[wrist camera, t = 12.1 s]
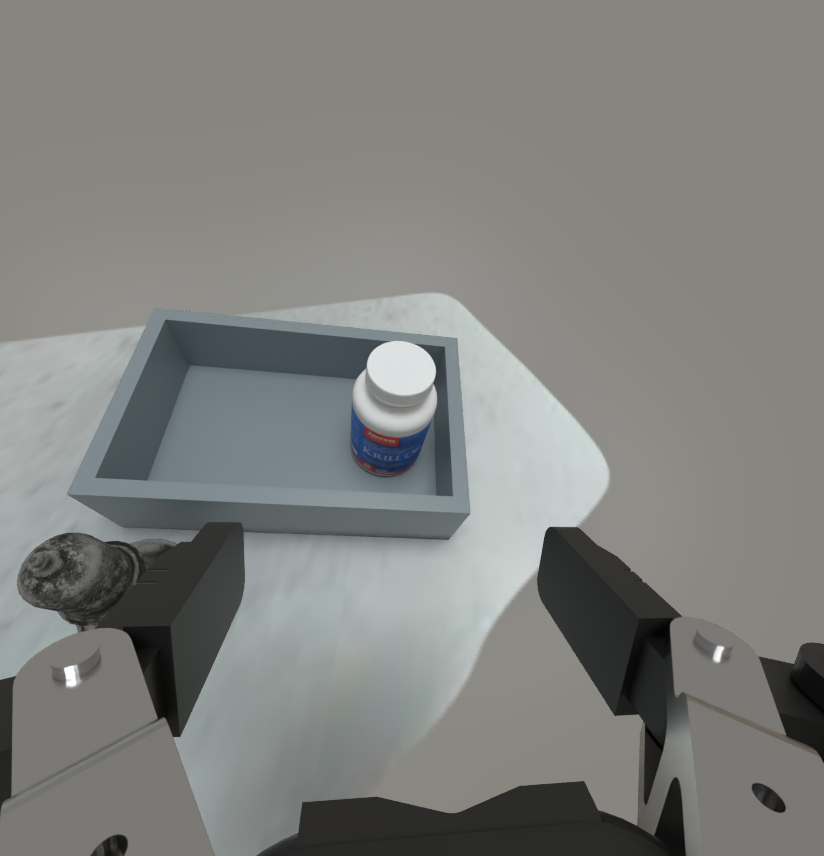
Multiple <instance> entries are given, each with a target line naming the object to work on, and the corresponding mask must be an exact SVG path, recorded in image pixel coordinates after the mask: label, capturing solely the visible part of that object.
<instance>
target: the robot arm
mask: <svg viewBox="0 0 824 856" xmlns="http://www.w3.org/2000/svg"><path fill="white" fill-rule="evenodd" d="M244 583H245V568H244V538H243V527H242V524H241V523H240V522H207V523H206V524H205V525H204V527H203V528H202V529H201V530H200V531H199V533H198V534H197V535H196V536H195V538H194V539H193V540H192V541H191V542H181V543H179V544H177V545H176V546H174V547H172V548H171V549H169V550H167V551H166V552H164V553H162V554H161V555H160V556H159V557H158V558H157V559H156V560H155V562H154V563H153V564H152V565H151V566H150V567H149V568H148V571H147V572H145V573H144V574H143V575H142V576H141V577H140V578H139V579H138V581H137V583H136V585H133V586H132V587H131V588H130V589H129V591H128V592H127V593H126V594H125V595H124V596H123V597H122V598H121V600H120V601H119V602H118V603H117V604H116V605H115V606H114V607H113V608H112V610H111V611H110V612H109V613H108V614H107V615H106V616H105V617H104V619H103V620H102V621H101V622H100V623H99V624H98V625H97V626H96V627H95V629H92V630H87V631H83V632H80V633H77V634H74V635H71V636H68V637H66V638H63V639H61V640H59V641H57V642H55V643H53V644H51V645H50V646H48V647H46V648H45V649H43V650H42V651H40V652H39V653H37V654H36V655H35V656H34V657H32V658H31V659H30V660H29V661H28V662H27V663H26V664H25V665H24V666H23V667H22V668H21V670H20V671H19V672H18V674H17V676H14V677H11V678H7V679H3V680H0V856H215V855H214V852H213V849H212V846H211V844H210V841H209V838H208V835H207V832H206V830H205V827H204V824H203V821H202V818H201V815H200V813H199V810H198V807H197V804H196V801H195V798H194V796H193V793H192V790H191V787H190V784H189V781H188V779H187V776H186V773H185V770H184V767H183V764H182V762H181V759H180V756H179V753H178V750H177V747H176V745H175V742H174V739H173V737H180V736H181V734H182V732H183V730H184V727H185V725H186V723H187V721H188V718H189V716H190V714H191V712H192V710H193V707H194V705H195V703H196V701H197V699H198V696H199V694H200V692H201V690H202V687H203V685H204V683H205V681H206V679H207V676H208V674H209V672H210V670H211V668H212V665H213V663H214V661H215V659H216V656H217V654H218V652H219V650H220V648H221V645H222V643H223V641H224V639H225V637H226V634H227V632H228V630H229V628H230V625H231V623H232V621H233V619H234V617H235V614H236V612H237V610H238V608H239V605H240V603H241V600H242V596H243V591H244ZM537 584H538V591H539V595H540V598H541V600H542V602H543V604H544V605H545V607H546V609H547V610H548V612H549V613H550V615H551V617H552V618H553V620H554V621H555V623H556V624H557V626H558V628H559V629H560V631H561V632H562V634H563V635H564V637H565V638H566V640H567V642H568V643H569V645H570V646H571V648H572V650H573V651H574V653H575V654H576V656H577V657H578V659H579V660H580V662H581V664H582V665H583V667H584V668H585V670H586V672H587V673H588V675H589V676H590V678H591V679H592V681H593V682H594V684H595V686H596V687H597V689H598V690H599V692H600V693H601V695H602V697H603V698H604V699H605V701H606V703H607V704H608V706H609V708H610V709H611V711H612V712H613V714H614V715H615V716H617V715H636V714H639V715H640V717H641V718H642V720H643V724H642V728H641V732H640V745H639V780H638V818H637V826H636V825H634V824H632V823H630V822H628V821H626V820H624V819H622V818H619V817H616V816H614V815H611V814H608V813H605V812H602V811H598V809H597V808H596V805H595V803H594V801H593V799H592V797H591V795H590V793H589V791H588V788H587V786H586V784H585V782H584V781H580V782H567V783H554V784H541V785H528V786H519V787H517V788H514V789H512V790H509V791H508V792H505V793H503V794H500V795H498V796H496V797H494V798H491V799H489V800H487V801H484V802H482V803H480V804H477V805H475V806H473V807H471V808H468V809H466V810H464V811H462V812H458V813H444V812H440V811H436V810H432V809H427V808H423V807H418V806H414V805H410V804H406V803H401V802H397V801H392V800H388V799H384V798H379V797H368V798H355V799H341V800H328V801H315V802H303V803H302V811H301V818H300V826H299V833H297V834H295V835H293V836H290V837H288V838H286V839H284V840H282V841H280V842H278V843H276V844H275V845H273V846H271V847H269V848H268V849H266V850H264V851H263V852H261V853H260V854H258V855H257V856H824V644H820V643H806V644H803V645H802V646H801V647H800V650H799V652H798V655H797V658H796V660H795V663H794V664H791V663H786V662H781V661H777V660H772V659H768V658H763V657H758V656H757V654H756V653H755V651H754V650H753V649H752V648H751V647H750V646H749V645H748V644H747V643H746V642H744V641H743V640H742V639H740V638H739V637H738V636H736V635H735V634H733V633H731V632H730V631H728V630H726V629H724V628H722V627H720V626H718V625H716V624H713V623H711V622H708V621H705V620H702V619H697V618H692V617H682V616H681V615H680V614H679V613H678V612H677V611H676V610H675V609H674V608H672V607H671V606H670V605H669V604H668V603H667V602H666V601H665V600H664V599H663V598H662V597H660V596H659V595H658V594H657V593H656V592H655V591H654V590H653V589H652V588H651V587H650V586H649V585H647V584H646V583H643V582H642V579H641V578H640V577H639V576H638V575H636V574H635V573H634V572H631V569H630V568H629V567H628V566H627V565H626V564H625V563H624V562H622V561H621V560H620V559H619V558H618V557H617V556H615V555H614V554H612V553H610V552H608V551H607V550H605V549H603V548H601V547H600V546H598V545H596V544H595V543H594V542H593V541H592V540H591V539H590V538H589V537H588V536H587V535H586V534H585V533H584V532H583V531H582V530H581V529H579V528H578V527H549V528H548V529H547V531H546V533H545V537H544V542H543V548H542V554H541V560H540V565H539V571H538V578H537Z"/></svg>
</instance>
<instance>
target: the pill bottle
mask: <svg viewBox="0 0 824 856" xmlns="http://www.w3.org/2000/svg"><path fill="white" fill-rule="evenodd" d="M435 376H436V367H435V364H434V362H433V359H432V358H431V356H430V355H429V354H428V353H427V352H426V351H425V350H424V349H422V348H421V347H419V346H417V345H415V344H412V343H409V342H404V341H391V342H387V343H384V344H382V345H380V346H378V347H377V348H375V349H374V350H373V351H372V353H371V354H370V356H369V358H368V361H367V367H366V369H365V370H364V371H363V372H362V373H361V374H360V375H359V377H358V378H357V380H356V382H355V384H354V387H353V394H352V410H351V436H350V444H351V451H352V454H353V456H354V458H355V460H356V461H357V463H358V464H359V465H360V466H361V467H362V468H364V469H365V470H366V471H368V472H370V473H373V474H376V475H380V476H394V475H398V474H401V473H403V472H405V471H406V470H408V469H409V468H410V467H411V466H412V465H413V464H414V463H415V461H416V460H417V458H418V456H419V453H420V450H421V448H422V445H423V442H424V440H425V437H426V435H427V432H428V429H429V427H430V424H431V422H432V419H433V416H434V413H435V410H436V407H437V393H436V389H435V386H434V384H433V383H434V380H435Z"/></svg>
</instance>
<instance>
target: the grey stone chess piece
mask: <svg viewBox="0 0 824 856" xmlns="http://www.w3.org/2000/svg"><path fill="white" fill-rule="evenodd" d="M176 545H177V544H176V543H174V542H171V541H167V540H162V539H148V540H142V541H138V542H134V543H131V544H128V543H124V542H120V541H110V542H103V541H101V540H99V539H97V538H95V537H93V536H91V535H87V534H82V533H65V534H61V535H58V536H55V537H53V538H51V539H49V540H46V541H45V542H43V543H42V544H41V545H39V546H38V547H36V548H35V549H34V550H33V551H32V552H31V553H30V554H29V555H28V556H27V558H26V559H25V561H24V562H23V564H22V566H21V569H20V571H19V574H18V579H17V587H18V591H19V594H20V595H21V597H22V598H23V599H24V600H25V601H26V602H28V603H30V604H31V605H33V606H34V607H38V608H43V609H48V610H54V611H57V612H58V613H59V615H60V616H61V617H62V618H63V619H64V620H66V621H67V622H69V623H71V624H75V625H76V627H77V630H78V633H80V632H83V631H87V630H92V629H95V627H96V626H97V625H98V624H99V623H100V622H101V621H102V620H103V619H104V617H105V616H106V615H107V614H108V613H109V612H110V611H111V610H112V608H113V607H114V606H115V605H116V604H117V603H118V602H119V601H120V600H121V598H122V597H123V596H124V595H125V594H126V593H127V592H128V591H129V589H130V588H131V587H132V586H133V585H136V583H137V581H138V579H139V578H140V577H141V576H142V575H143V574H144V573H145V572H147V571H148V568H149V567H150V566H151V565H152V564H153V563H154V562H155V560H156V559H157V558H158V557H159V556H160V555H161V554H162V553H164V552H166V551H167V550H169V549H171V548H172V547H174V546H176Z"/></svg>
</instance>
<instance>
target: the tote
mask: <svg viewBox="0 0 824 856" xmlns="http://www.w3.org/2000/svg"><path fill="white" fill-rule="evenodd" d="M391 341H404V342H409V343H412V344H415V345H417V346H419V347H421V348H422V349H424V350H425V351H426V352H427V353H428V354H429V355H430V356H431V358H432V359H433V362H434V364H435V367H436V376H435V380H434V383H433V384H434V386H435V389H436V393H437V407H436V410H435V413H434V416H433V419H432V422H431V424H430V427H429V429H428V432H427V435H426V437H425V440H424V442H423V445H422V448H421V450H420V453H419V456H418V458H417V460H416V461H415V463H414V464H413V465H412V466H411V467H410V468H409V469H408V470H406V471H405V472H403V473H401V474H398V475H394V476H380V475H376V474H373V473H370V472H368V471H366V470H365V469H364V468H362V467H361V466H360V465H359V464H358V463H357V461H356V460H355V458H354V456H353V454H352V451H351V444H350V436H351V410H352V394H353V387H354V384H355V382H356V380H357V378H358V377H359V375H360V374H361V373H362V372H363V371H364V370H365V369H366V367H367V361H368V358H369V356H370V354H371V353H372V351H373V350H374V349H375V348H377V347H378V346H380V345H382V344H384V343H387V342H391ZM67 495H69V496H70V497H72V498H74V499H76V500H77V501H79V502H81V503H82V504H84V505H86V506H87V507H89V508H91V509H93V510H94V511H96V512H98V513H99V514H101V515H103V516H104V517H106V518H108V519H110V520H111V521H113V522H115V523H116V524H118V525H120V526H121V527H137V528H163V529H188V530H201V529H202V528H203V527H204V525H205V524H206V523H207V522H240V523H241V524H242V527H243V532H266V533H292V534H318V535H344V536H369V537H395V538H421V539H447V540H449V538H450V537H451V536H452V535H453V534H454V532H455V531H456V530H457V529H458V528H459V526H460V525H461V524H462V523H463V522H464V520H465V519H466V518H467V517H468V516H469V514H470V501H469V488H468V475H467V462H466V448H465V435H464V422H463V409H462V396H461V383H460V369H459V356H458V343H457V338H450V337H440V336H430V335H420V334H410V333H401V332H391V331H381V330H371V329H361V328H351V327H341V326H331V325H321V324H311V323H301V322H291V321H281V320H271V319H261V318H251V317H241V316H231V315H221V314H211V313H200V312H191V311H181V310H171V309H161V308H155V309H154V311H153V313H152V315H151V317H150V319H149V321H148V323H147V325H146V328H145V330H144V332H143V334H142V336H141V338H140V340H139V342H138V344H137V347H136V349H135V351H134V353H133V355H132V357H131V359H130V361H129V364H128V366H127V368H126V370H125V372H124V374H123V376H122V378H121V380H120V383H119V385H118V387H117V389H116V391H115V393H114V395H113V397H112V399H111V402H110V404H109V406H108V408H107V410H106V412H105V414H104V416H103V419H102V421H101V423H100V425H99V427H98V429H97V431H96V433H95V435H94V438H93V440H92V442H91V444H90V446H89V448H88V450H87V452H86V455H85V457H84V459H83V461H82V463H81V465H80V467H79V469H78V471H77V474H76V476H75V478H74V480H73V482H72V484H71V486H70V488H69V490H68V493H67Z"/></svg>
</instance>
